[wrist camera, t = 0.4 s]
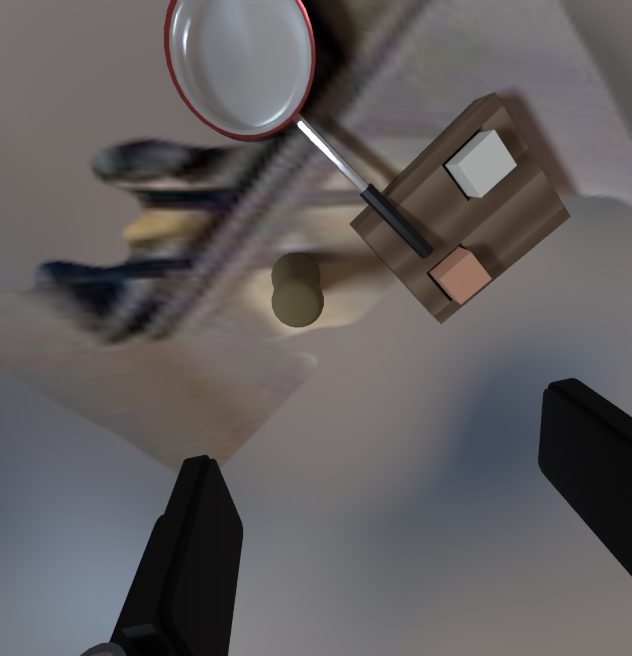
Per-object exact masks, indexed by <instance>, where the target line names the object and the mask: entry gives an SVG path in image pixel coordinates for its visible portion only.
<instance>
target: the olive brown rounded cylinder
mask: <svg viewBox="0 0 632 656" xmlns="http://www.w3.org/2000/svg"><path fill="white" fill-rule="evenodd" d="M271 275H272V283H273V286H274V292H273V296H272V308H273V311H274V313H275V315H276V316H277V318H278V319H279V320H280V321H281V322H283V323H284V324H286V325H288V326H291V327H305V326H307V325H310V324H312V323H313V322H314V321H316V320H317V318H318V317H319V316H320V314H321V312H322V309H323V306H324V297H323V294H322V291H321V288H320V287H319V282H320V271H319V269H318V266H317V264H316V263H315V262H314V260H313V259H312V258H310V257H309V256H307V255H305V254H301V253H289V254H287V255H284V256H283V257H281V258H280V259H279V260H278V261H277V262H276V264H275V265H274V267H273V270H272V274H271Z"/></svg>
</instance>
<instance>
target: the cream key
mask: <svg viewBox="0 0 632 656" xmlns="http://www.w3.org/2000/svg"><path fill="white" fill-rule="evenodd" d="M445 166H446V167H447V168H448V170H449V171H450V172H451V174H452V175H453V177H454V178H455V179H456V181H457V182H458V184H459V185H460V186H461V188H462V189H463V190H464V192H465V193H466V195H467V196H471V197H480V198H482V197H483V196H484V195H485V194H486V193H487V192H488V191H489V190H490V189H491V188H493V187H494V186H495V185H496V184H497V183H498V182H499V181H500V180H501V179H502V178H504V177H505V176H506V175H507V174H508V173H509V172H510V171H511V170H512V169H514V168H515V167H516V166H517V164H516V163H515V161H514V160H513V158H512V157H511V155H510V153H509V152H508V150H507V149H506V147H505V146H504V144H503V142H502V141H501V139H500V138H499V136H498V134H497V133H496V131H495V130H490V131H485V132H481V133H478V134H477V135H476V136H475V137H474V138H473V139H472V140H471V141H470V142H469V143H468V144H467V145H466V146H465V147H463V148H462V149H461V150H460V151H459V152H458V153H457V154H456V155H455V156H454V157H453V158H452V159H451V160H450V161H449V162H448V163H447V164H446V165H445Z"/></svg>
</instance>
